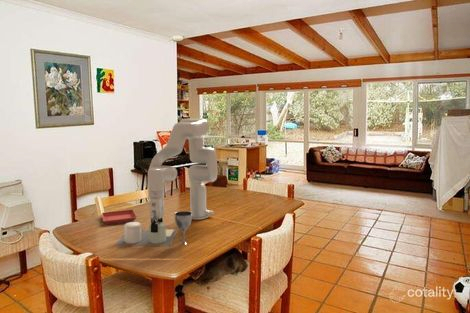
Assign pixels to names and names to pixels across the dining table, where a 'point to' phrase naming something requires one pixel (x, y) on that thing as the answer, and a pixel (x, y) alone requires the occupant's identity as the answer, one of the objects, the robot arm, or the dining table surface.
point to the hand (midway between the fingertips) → (156, 228)
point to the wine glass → (183, 222)
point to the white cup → (132, 232)
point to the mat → (145, 238)
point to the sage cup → (158, 233)
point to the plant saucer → (118, 217)
